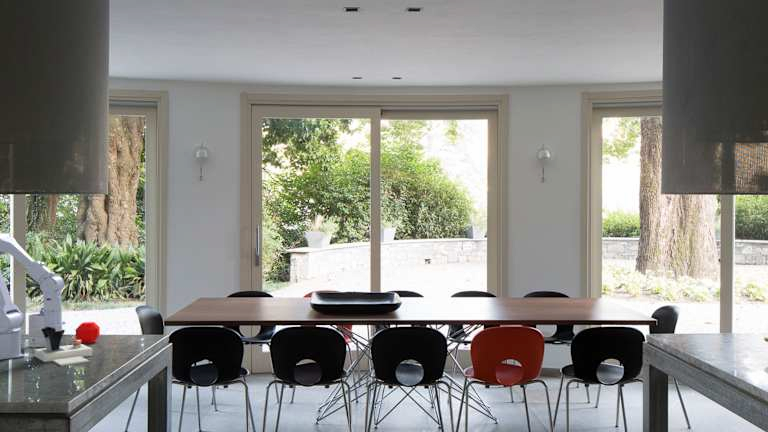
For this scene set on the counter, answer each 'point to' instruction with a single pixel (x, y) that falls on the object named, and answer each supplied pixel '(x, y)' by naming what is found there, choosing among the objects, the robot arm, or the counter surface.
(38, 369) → the counter surface
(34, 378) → the counter surface
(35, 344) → the ink cartridge box
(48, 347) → the capped blue cylinder
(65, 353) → the white panel with holes
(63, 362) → the stone coaster
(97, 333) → the ball
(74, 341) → the plunger
